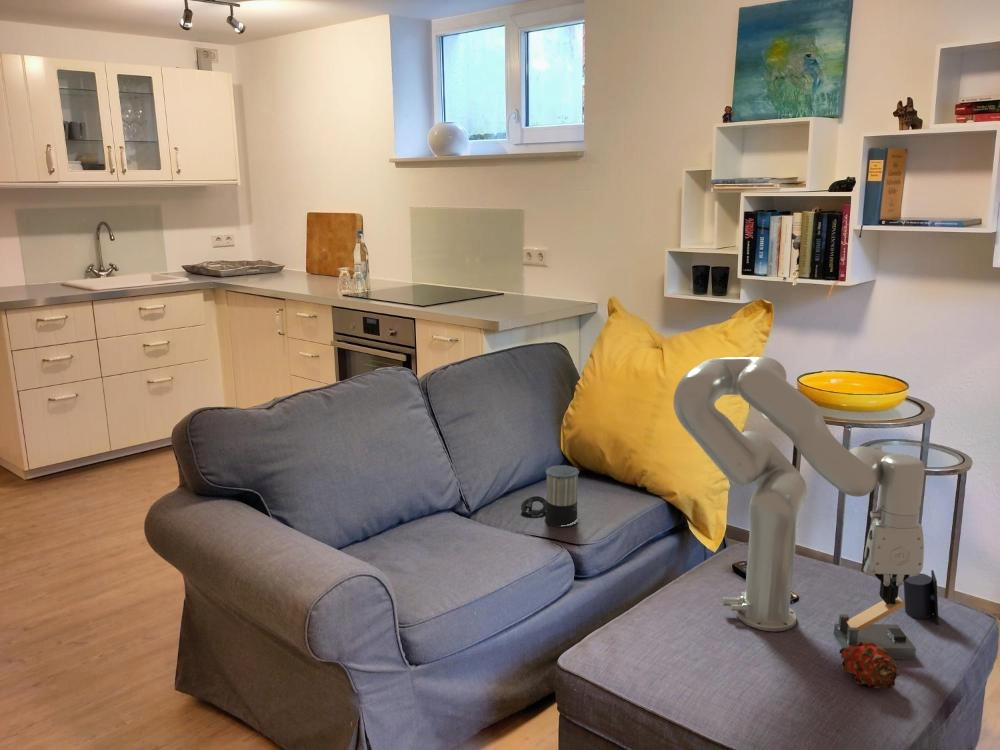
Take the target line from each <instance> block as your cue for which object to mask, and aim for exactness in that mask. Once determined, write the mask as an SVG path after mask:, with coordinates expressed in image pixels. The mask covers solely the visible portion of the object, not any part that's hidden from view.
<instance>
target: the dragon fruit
mask: <svg viewBox="0 0 1000 750" xmlns="http://www.w3.org/2000/svg"><path fill="white" fill-rule="evenodd" d="M837 653H838V654H840V657H841V658H842V659H843V660H842V661H841V663H840V669H841V672H842V673H844V672H847V673H849V674H850V673H851V674H854V675H855V676H854V682H855V684H857V685H867V686H868V687H869V688H873V689H882V688H883V687H885V688H888V689H890V688H893V687H895V686H896V679H897V677H899V676H900V673H899V672H898V666H897V664H896V662H895V659H892V658H890V656H889V654H888V653H887V652H886V650H885V649H884V648H881V647H877V646H876V645H875V644H874V643H870V642H864V643H863V642H860V643H859V644H858V645H857V646H849V647H846V648H842V647H841V649H839V652H837ZM837 653H836V654H837Z"/></svg>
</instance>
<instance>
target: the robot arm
mask: <svg viewBox="0 0 1000 750" xmlns="http://www.w3.org/2000/svg"><path fill="white" fill-rule="evenodd" d="M674 391H675V392H674V393H673V394H674V395H673V402H672V403H673V410H674V413H675V416H676V418H677V420H678V422H679V423H680V425H681V426H682V427H683V429H684V430H685V431H686V432H687V433H688V435H690V437H691V438H692V439H693V440H694V441H695V442H696V443H697V444H698V446H699V447H700V448H701V449H702V451H703V452H704V453H705V454H706V456H708V458H709V459H710V460H711V461H712V462H713V463H714V465H715V466H716V467H717V468H718V469H719V470H720V472H721V473H722V474H723V475H724V477H725V478H726V479H728V481H730V482H731V483H733V484H734V485H736V486H737V485H738V486H743V487H744V486H745V487H746V486H748V485H751V484H754V485H756V487H757V488H756V489H755V490H754V492H753V494H752V496H751V499H750V502H749V506H748V507H749V509H748V518H749V520H748V521H749V534H748V535H749V537H748V547H747V549H748V553H747V563H746V566H747V567H746V575H745V576H746V578H745V588H744V591H740V595H736V597H731V596H723V597H721V604H722V607H730V611H733V612H735V613H736V616H737V618H738V619H739V620H740V621H741V622H742V623H743V624H745V625H747V626H749V627H750V628H751V627H752V628H753V629H756V630H761V631H765V632H784V631H787V630H790V629H792V628H793V627H795V625H796V623H797V613H796V612H795V611H794V610H793V609H792V608H791V607H790V606H791V597H792V586H793V576H794V566H795V557H796V556H795V555H796V553H795V552H796V544H797V540H796V539H797V538H796V537H797V521H798V515H799V512H800V511H801V508H802V507H803V505H804V503H805V501H806V499H807V496H808V487H807V483H806V481H805V479H804V477H803V476H802V474H801V472H800V471H798V469H797V468H796V467H795V466H794V465H793V463H791V462H790V460H789V459H788V458H787V456H785V455H784V453H783V452H782V451H781V450H780V449H779V448H778V446H776V445H775V444H774V442H773V441H772V440H771V439H770V438H768V437H767V436H765V435H764V434H762V433H760V432H757V431H754V430H745V431H742V432H741V431H740V430H739V429H738V428H737V427H736V426H735V424H734V423H733V422H732V421H731V419H730V418H728V416H726V415H725V414H724V413H723V412H721V411H719V410H718V409H717V408H716V405H715V404H716V402H717V400H719V399H720V398H722V397H723V396H729V395H730V396H732V395H733V396H734V395H736V396H737V395H738V396H740V397H741V398H742V400H743V401H745V402H746V404H748V405H749V406H751V407H752V408H753V409H754V410H755V411H757V412H758V413H759V414H760V415H762V416H763V417H764V418H765V419H766V420H768V421H769V422H770V423H772V424H773V425H774V426H776V428H777V429H779V430H780V431H781V432H782V433H783V434H785V436H786V437H788V439H790V441H791V442H792V443H793V445H794V447H795V448H796V450H797V451H798V452H799V453H800V454H801V456H803V458H804V460H805V461H806V462H807V463H808V464H809V465H810V466H811V468H812V469H813V470H815V472H817V474H819V475H820V476H821V477H822V478H823V479H824V480H826V481H827V482H828V483H830V484H831V485H832V486H833V487H834V488H836V489H837V490H839V491H840V492H841V493H843V494H846V495H847V496H850V497H858V498H859V497H865V496H867V495H869V494H870V493H872V492H873V491H874V489H875V488H876V486H877V485H878V487H879V491H878V492H879V493H878V501H877V506H876V508H875V509H876V510H871V511H870V512H869V516H870V518H871V519H873V520H872V523H871V525H870V528H869V531H868V535H867V537H866V538H867V539H866V543H865V544H866V545H865V547H864V548H865V549H864V555H863V557H864V558H863V559H864V560H863V561H864V563H865V564H864V567H863V571H862V572H864V574H865V576H869V577H870V576H871V577H873V578H874V577H875V578H877V579H878V580H879V582H880V585H879V596H880V598H881V599H882V601H883V600H884V602H885V603H886V604H890V603H891V604H895V601H896V598H897V597H898V596H899V587H901V586H902V585H903V583H904V580H906V579H907V578H908V577H912V576H917V575H919V573H922V571H923V567H924V558H925V557H924V553H925V551H924V550H925V549H924V548H925V547H924V545H925V544H924V543H925V541H924V529H923V526H922V525H921V524H920V523H919V519H920V510H921V502H922V494H923V487H924V478H925V471H926V470H925V463H924V462H923V461H922V459H919V458H917V457H916V456H913V455H909V454H903V453H901V454H899V453H897V454H896V453H895V454H894V453H889V452H886V451H883V450H880V449H876V448H873V447H869V446H864V445H860V446H855V447H854V446H853V447H851V448H850V449H847V447H845V446H844V445H842V443H841V442H839V440H838V439H837V438H836V437H835V436H834V434H832V432H831V431H830V429H829V427H828V426H827V423H826V421H825V418H824V415H823V413H822V411H821V409H820V408H819V406H818V405H817V404H816V403H815V402H814V401H812V400H811V399H809V398H808V397H807V396H806V395H804V394H803V393H802V392H800V391H799V389H797V388H795V387H794V386H793V385H792V384H791V383H789V382H788V381H787V372H786V369H785V367H784V366H783V364H781V363H780V362H779V361H778V360H776V359H775V358H772V357H768V356H748V357H745V356H743V357H714V358H710V359H705V360H704V361H703V362H701V363H699V364H698V365H696V366H695V367H693V368H692V369H690V370H688V371H687V372H686V373H685V374H684V375H683V376H682V377H681V378H680V380H679V381H678V383H677V386H676V387H675V390H674Z"/></svg>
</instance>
